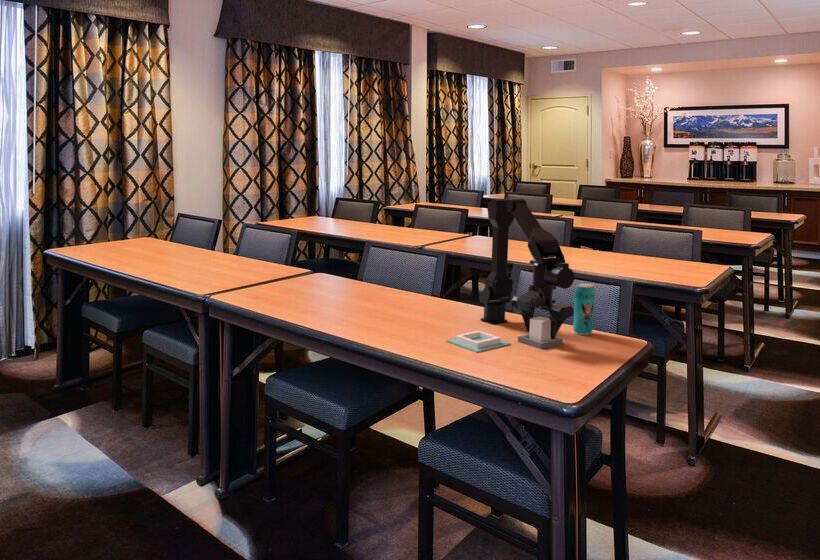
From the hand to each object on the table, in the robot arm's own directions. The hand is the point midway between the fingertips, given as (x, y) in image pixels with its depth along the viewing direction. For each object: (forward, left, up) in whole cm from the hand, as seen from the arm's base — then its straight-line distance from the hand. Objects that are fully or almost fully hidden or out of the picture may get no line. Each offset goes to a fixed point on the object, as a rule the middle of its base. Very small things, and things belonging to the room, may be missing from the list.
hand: (540, 335), depth 179 cm
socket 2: (0, 0, -2) cm, 2 cm away
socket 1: (-10, -15, -2) cm, 18 cm away
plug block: (0, 0, -2) cm, 2 cm away
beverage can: (+1, +18, -2) cm, 18 cm away
